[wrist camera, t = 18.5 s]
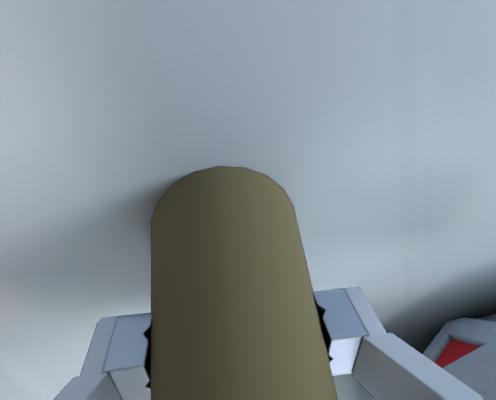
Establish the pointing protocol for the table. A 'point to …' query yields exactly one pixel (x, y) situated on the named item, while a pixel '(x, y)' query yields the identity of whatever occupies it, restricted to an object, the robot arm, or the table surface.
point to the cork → (233, 294)
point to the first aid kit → (468, 352)
